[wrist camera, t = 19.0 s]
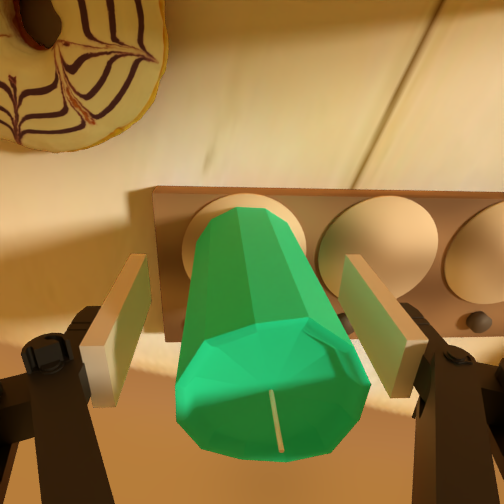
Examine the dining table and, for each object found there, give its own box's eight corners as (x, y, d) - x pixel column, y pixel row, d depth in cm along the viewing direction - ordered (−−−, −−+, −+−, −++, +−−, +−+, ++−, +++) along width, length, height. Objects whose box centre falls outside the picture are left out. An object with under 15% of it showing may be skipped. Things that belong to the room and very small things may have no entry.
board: (156, 183, 19) (149, 194, 18) (579, 192, 22) (613, 202, 20) (168, 327, 24) (163, 348, 22) (519, 322, 26) (542, 341, 24)
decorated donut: (73, -197, 13) (21, -297, 10) (213, 80, 18) (211, 78, 14) (-128, -46, 15) (-235, -88, 11) (48, 176, 19) (11, 195, 16)
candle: (318, 257, 20) (432, 446, 10) (242, 316, 22) (266, 541, 11) (252, 182, 18) (304, 316, 7) (172, 253, 19) (113, 456, 9)
